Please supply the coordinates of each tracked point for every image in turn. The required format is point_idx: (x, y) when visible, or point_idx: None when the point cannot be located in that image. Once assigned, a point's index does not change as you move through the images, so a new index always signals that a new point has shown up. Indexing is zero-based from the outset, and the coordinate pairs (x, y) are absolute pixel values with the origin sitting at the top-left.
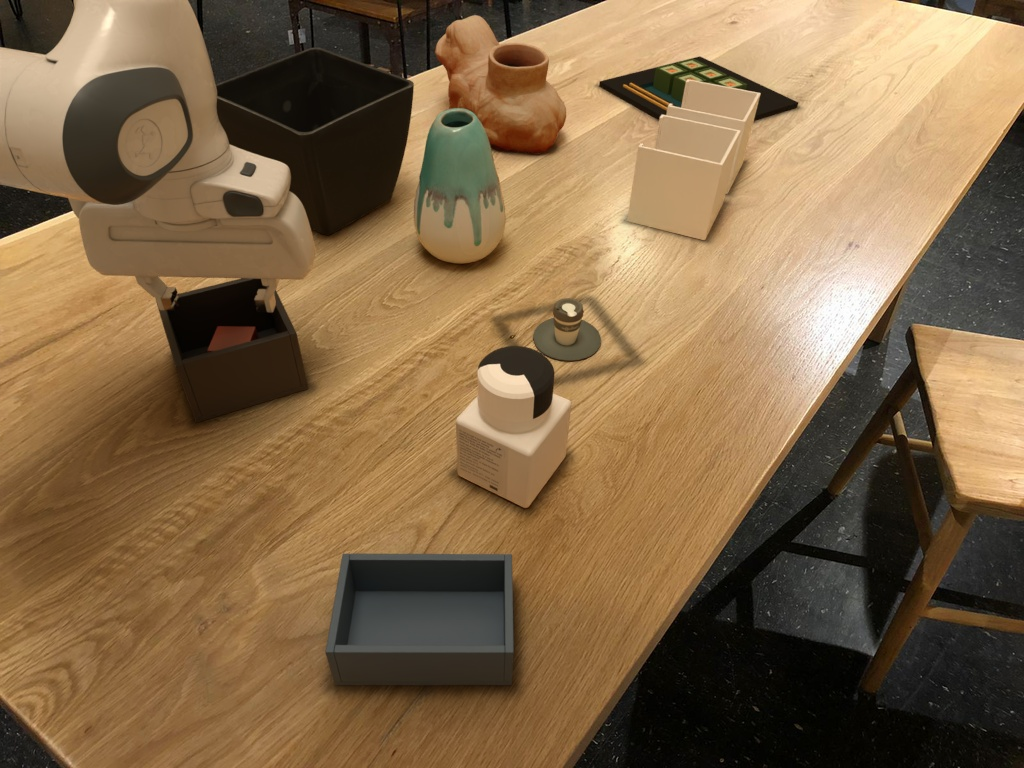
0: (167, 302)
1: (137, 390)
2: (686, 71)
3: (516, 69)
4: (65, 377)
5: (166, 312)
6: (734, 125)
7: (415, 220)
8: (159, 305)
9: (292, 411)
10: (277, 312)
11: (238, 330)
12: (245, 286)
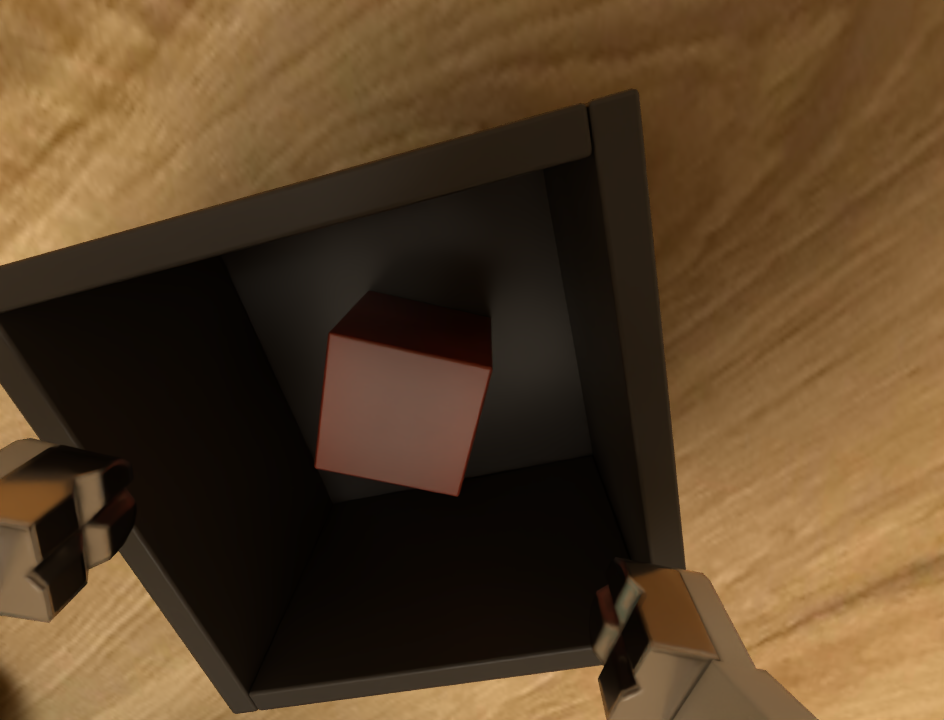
0: (667, 614)
1: (731, 333)
2: None
3: None
4: (922, 429)
5: None
6: None
7: None
8: (713, 601)
9: (234, 120)
10: (152, 490)
11: (376, 459)
12: (327, 657)
